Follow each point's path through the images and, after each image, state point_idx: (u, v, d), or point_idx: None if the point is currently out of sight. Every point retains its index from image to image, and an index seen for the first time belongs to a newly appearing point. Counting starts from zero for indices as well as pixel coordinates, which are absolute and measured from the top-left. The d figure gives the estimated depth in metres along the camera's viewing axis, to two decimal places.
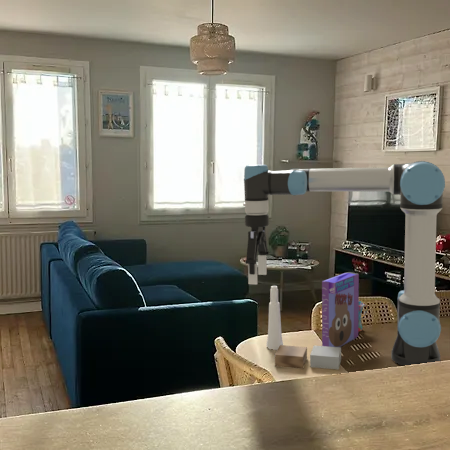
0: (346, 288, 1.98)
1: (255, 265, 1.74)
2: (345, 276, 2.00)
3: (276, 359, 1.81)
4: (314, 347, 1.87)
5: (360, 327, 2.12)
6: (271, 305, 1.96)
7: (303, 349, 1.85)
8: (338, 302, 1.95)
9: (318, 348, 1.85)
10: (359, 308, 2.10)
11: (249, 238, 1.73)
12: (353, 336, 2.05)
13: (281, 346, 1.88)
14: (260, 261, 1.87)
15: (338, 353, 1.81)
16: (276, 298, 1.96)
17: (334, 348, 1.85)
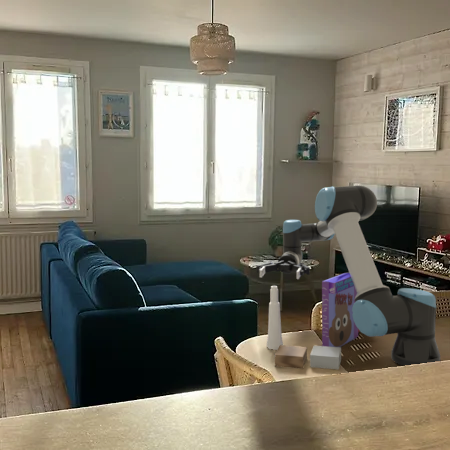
0: (346, 288, 1.98)
1: None
2: (345, 276, 2.00)
3: (276, 359, 1.81)
4: (314, 347, 1.87)
5: None
6: (271, 305, 1.96)
7: (303, 349, 1.85)
8: (338, 302, 1.95)
9: (318, 348, 1.85)
10: None
11: None
12: (353, 336, 2.05)
13: (281, 346, 1.88)
14: None
15: (338, 353, 1.81)
16: (276, 298, 1.96)
17: (334, 348, 1.85)
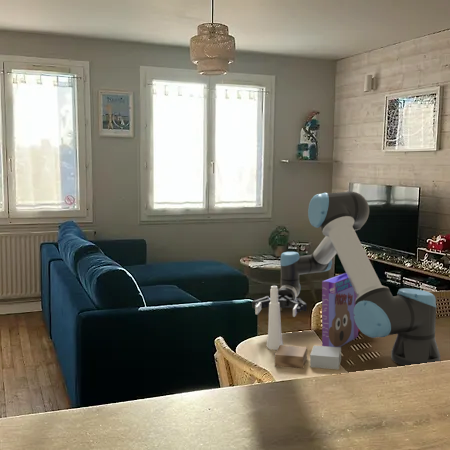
0: (346, 288, 1.98)
1: None
2: (345, 276, 2.00)
3: (276, 359, 1.81)
4: (314, 347, 1.87)
5: None
6: (271, 305, 1.96)
7: (303, 349, 1.85)
8: (338, 302, 1.95)
9: (318, 348, 1.85)
10: None
11: None
12: (353, 336, 2.05)
13: (281, 346, 1.88)
14: None
15: (338, 353, 1.81)
16: (276, 298, 1.96)
17: (334, 348, 1.85)
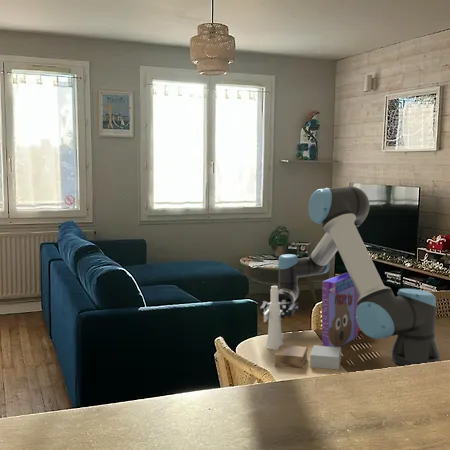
0: (346, 288, 1.98)
1: None
2: (345, 276, 2.00)
3: (276, 359, 1.81)
4: (314, 347, 1.87)
5: None
6: (271, 305, 1.96)
7: (303, 349, 1.85)
8: (338, 302, 1.95)
9: (318, 348, 1.85)
10: None
11: None
12: (353, 336, 2.05)
13: (281, 346, 1.88)
14: None
15: (338, 353, 1.81)
16: (276, 298, 1.96)
17: (334, 348, 1.85)
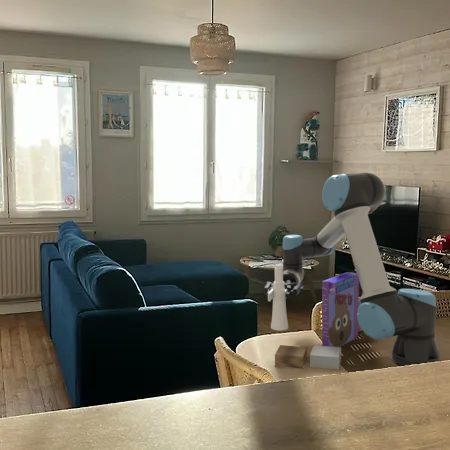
0: (346, 288, 1.98)
1: None
2: (345, 276, 2.00)
3: (276, 359, 1.81)
4: (314, 347, 1.87)
5: (360, 327, 2.12)
6: (275, 284, 1.89)
7: (303, 349, 1.85)
8: (338, 302, 1.95)
9: (318, 348, 1.85)
10: None
11: None
12: (353, 336, 2.05)
13: (281, 346, 1.88)
14: None
15: (338, 353, 1.81)
16: (281, 277, 1.89)
17: (334, 348, 1.85)
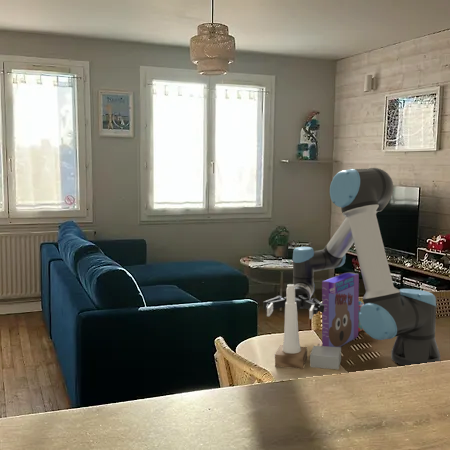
0: (346, 288, 1.98)
1: None
2: (345, 276, 2.00)
3: (276, 359, 1.81)
4: (314, 347, 1.87)
5: (360, 327, 2.12)
6: (288, 305, 1.81)
7: (303, 349, 1.85)
8: (338, 302, 1.95)
9: (318, 348, 1.85)
10: (359, 308, 2.10)
11: None
12: (353, 336, 2.05)
13: (281, 346, 1.88)
14: None
15: (338, 353, 1.81)
16: (293, 297, 1.81)
17: (334, 348, 1.85)
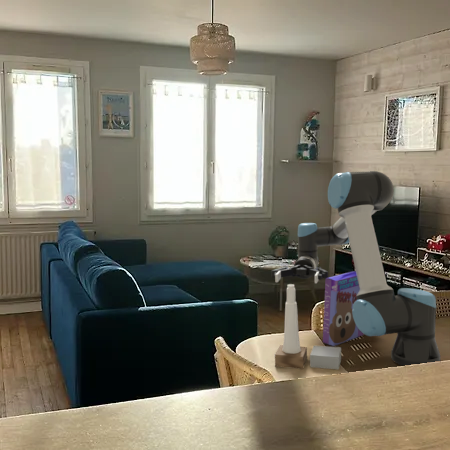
0: (350, 286, 2.00)
1: None
2: (351, 275, 2.02)
3: (276, 359, 1.81)
4: (314, 347, 1.87)
5: None
6: (288, 305, 1.81)
7: (303, 349, 1.85)
8: (341, 299, 1.97)
9: (318, 348, 1.85)
10: None
11: None
12: (357, 334, 2.07)
13: (281, 346, 1.88)
14: None
15: (338, 353, 1.81)
16: (293, 298, 1.81)
17: (334, 348, 1.85)
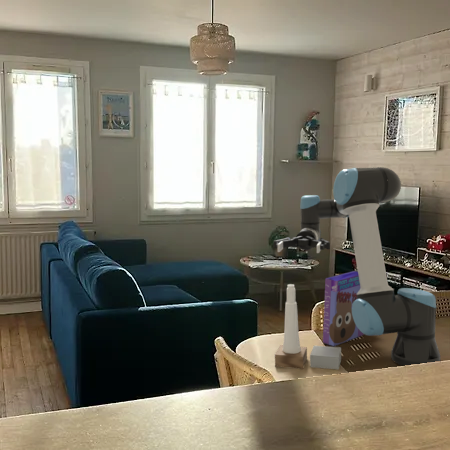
0: (350, 286, 2.00)
1: None
2: (351, 275, 2.02)
3: (276, 359, 1.81)
4: (314, 347, 1.87)
5: None
6: (288, 305, 1.81)
7: (303, 349, 1.85)
8: (341, 299, 1.97)
9: (318, 348, 1.85)
10: None
11: None
12: (357, 334, 2.07)
13: (281, 346, 1.88)
14: None
15: (338, 353, 1.81)
16: (293, 298, 1.81)
17: (334, 348, 1.85)
